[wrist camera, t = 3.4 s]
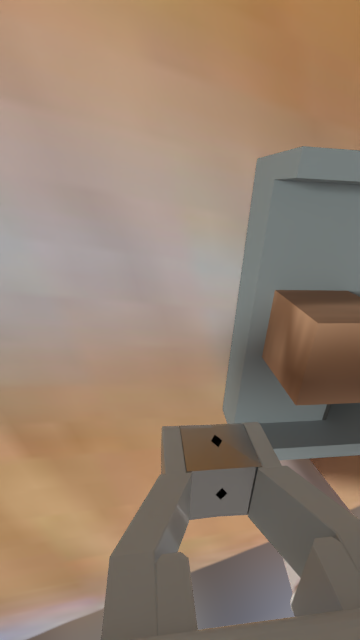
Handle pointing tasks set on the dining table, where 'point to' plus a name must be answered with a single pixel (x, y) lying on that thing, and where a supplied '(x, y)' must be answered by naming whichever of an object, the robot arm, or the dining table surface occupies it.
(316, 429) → the board
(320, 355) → the terracotta block
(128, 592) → the robot arm
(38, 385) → the dining table surface
